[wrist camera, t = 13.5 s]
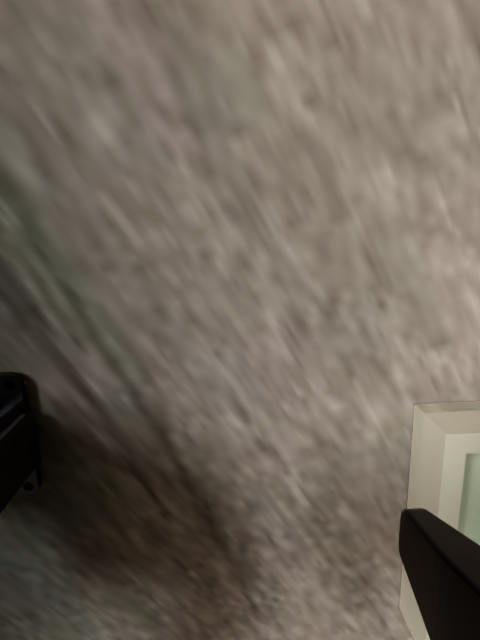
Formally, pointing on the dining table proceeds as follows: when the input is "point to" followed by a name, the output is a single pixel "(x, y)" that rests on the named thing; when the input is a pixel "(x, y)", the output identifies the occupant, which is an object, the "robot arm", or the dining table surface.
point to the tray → (443, 479)
